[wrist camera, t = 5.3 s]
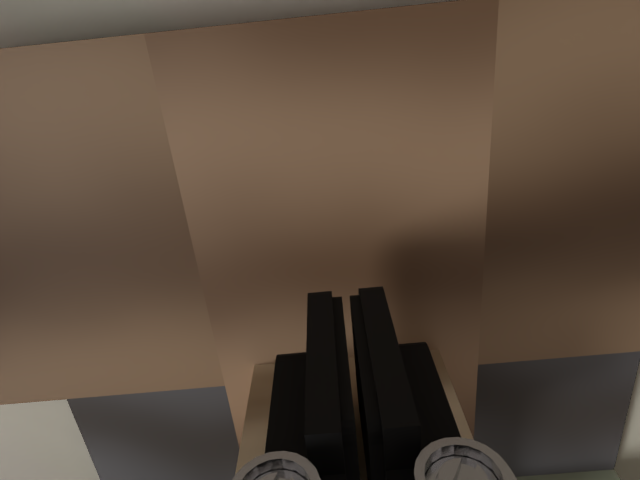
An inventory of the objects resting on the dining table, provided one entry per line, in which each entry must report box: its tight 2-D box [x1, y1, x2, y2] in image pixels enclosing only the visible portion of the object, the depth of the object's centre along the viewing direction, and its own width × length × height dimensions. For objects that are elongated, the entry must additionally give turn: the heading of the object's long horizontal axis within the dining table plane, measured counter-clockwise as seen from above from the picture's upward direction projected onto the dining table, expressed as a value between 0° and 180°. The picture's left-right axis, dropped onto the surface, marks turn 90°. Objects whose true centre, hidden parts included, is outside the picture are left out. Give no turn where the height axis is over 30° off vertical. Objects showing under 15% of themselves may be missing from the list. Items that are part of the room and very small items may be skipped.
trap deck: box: [0, 0, 640, 480], centre depth 15 cm, size 25×20×5 cm
